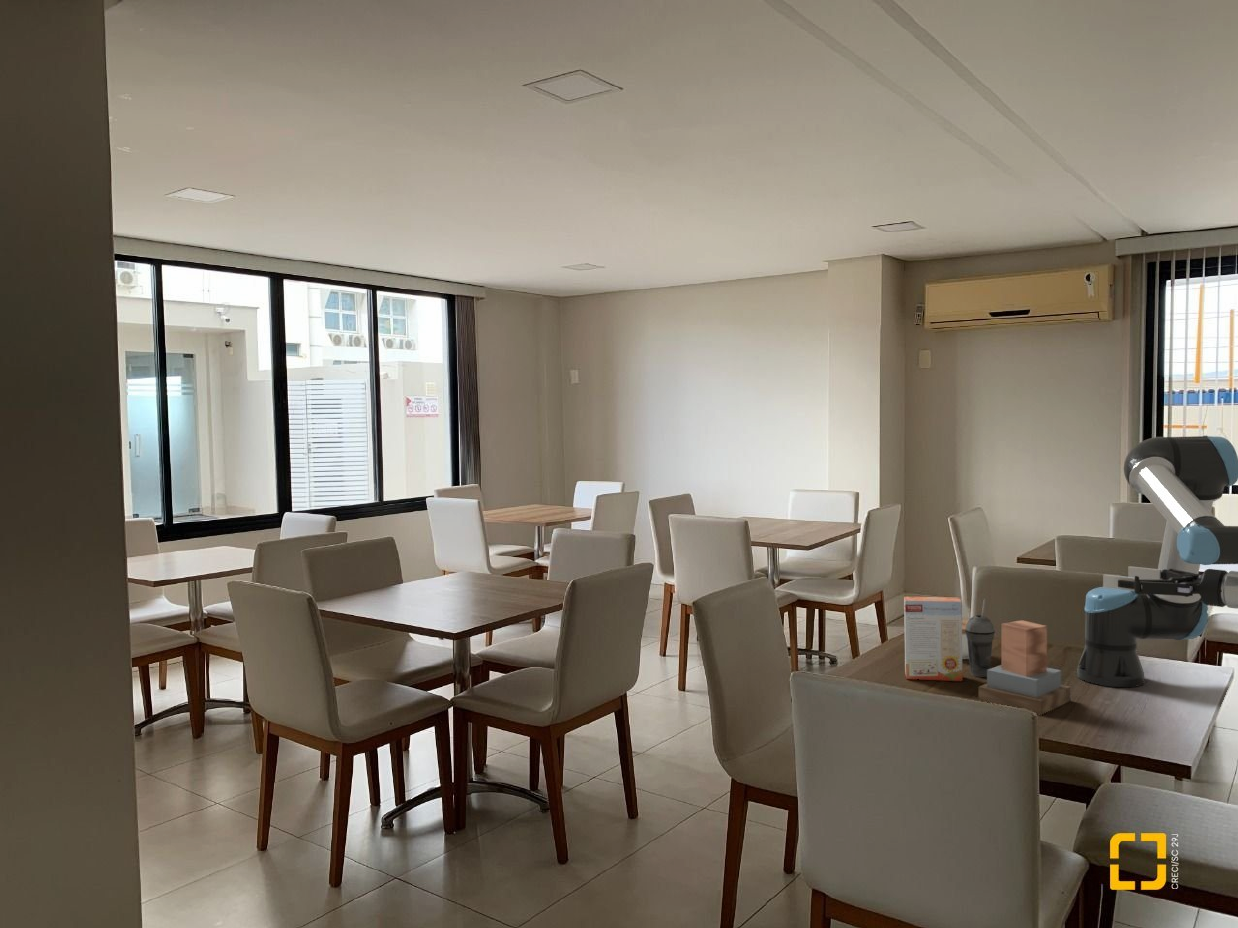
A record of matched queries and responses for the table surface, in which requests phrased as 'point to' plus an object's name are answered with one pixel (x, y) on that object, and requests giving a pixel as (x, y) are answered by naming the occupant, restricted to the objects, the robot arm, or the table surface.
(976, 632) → the beverage cup
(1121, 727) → the table surface
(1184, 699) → the table surface
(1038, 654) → the terracotta pillar block
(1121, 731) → the table surface
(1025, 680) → the slate top tile
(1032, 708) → the walnut base slab
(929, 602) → the cracker box
